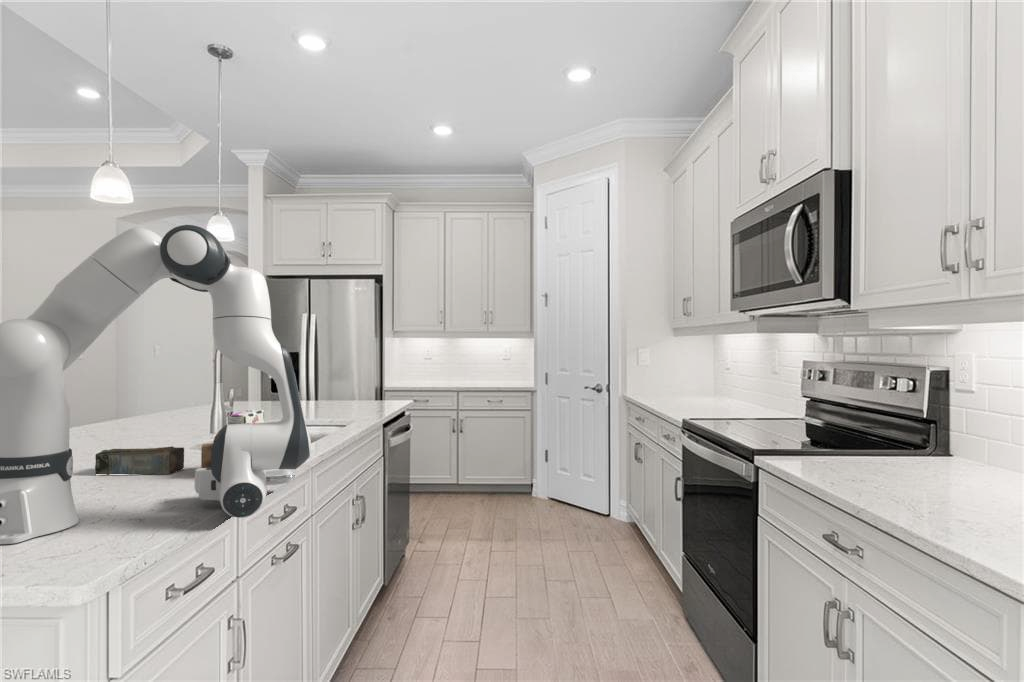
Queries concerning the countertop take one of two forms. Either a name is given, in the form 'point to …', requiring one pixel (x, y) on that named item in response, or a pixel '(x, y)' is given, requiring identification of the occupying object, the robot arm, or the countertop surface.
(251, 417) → the candy bar box
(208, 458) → the wooden block
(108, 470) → the beverage carton
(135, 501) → the countertop surface
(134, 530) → the countertop surface
